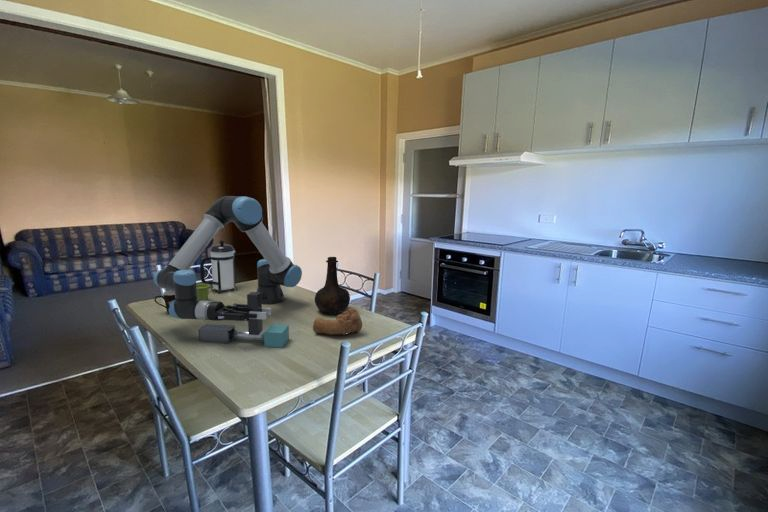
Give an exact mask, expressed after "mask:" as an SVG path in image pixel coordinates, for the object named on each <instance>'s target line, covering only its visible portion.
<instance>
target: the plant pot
mask: <svg viewBox="0 0 768 512" xmlns="http://www.w3.org/2000/svg"><path fill="white" fill-rule="evenodd" d="M210 287H211V285H209V284H204V283H196V289H197V300H198V301H209V300H208V299H209V290H210Z"/></svg>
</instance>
